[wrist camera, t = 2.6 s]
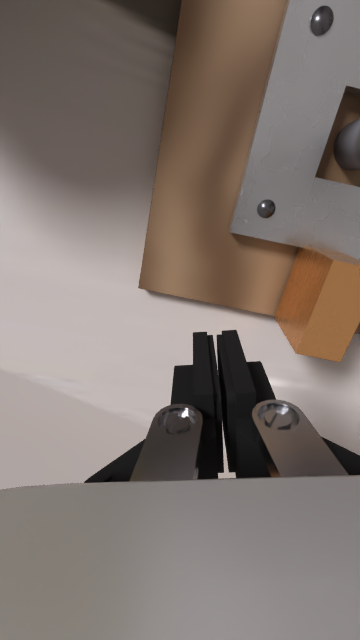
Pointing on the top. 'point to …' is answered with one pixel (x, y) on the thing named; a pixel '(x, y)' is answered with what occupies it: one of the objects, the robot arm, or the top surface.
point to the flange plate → (307, 175)
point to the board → (224, 159)
